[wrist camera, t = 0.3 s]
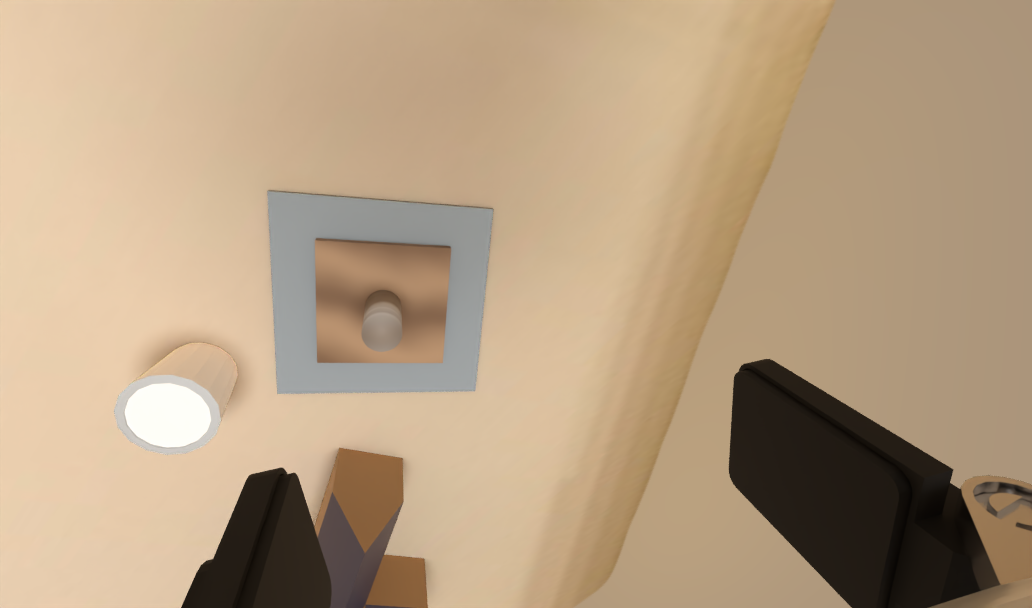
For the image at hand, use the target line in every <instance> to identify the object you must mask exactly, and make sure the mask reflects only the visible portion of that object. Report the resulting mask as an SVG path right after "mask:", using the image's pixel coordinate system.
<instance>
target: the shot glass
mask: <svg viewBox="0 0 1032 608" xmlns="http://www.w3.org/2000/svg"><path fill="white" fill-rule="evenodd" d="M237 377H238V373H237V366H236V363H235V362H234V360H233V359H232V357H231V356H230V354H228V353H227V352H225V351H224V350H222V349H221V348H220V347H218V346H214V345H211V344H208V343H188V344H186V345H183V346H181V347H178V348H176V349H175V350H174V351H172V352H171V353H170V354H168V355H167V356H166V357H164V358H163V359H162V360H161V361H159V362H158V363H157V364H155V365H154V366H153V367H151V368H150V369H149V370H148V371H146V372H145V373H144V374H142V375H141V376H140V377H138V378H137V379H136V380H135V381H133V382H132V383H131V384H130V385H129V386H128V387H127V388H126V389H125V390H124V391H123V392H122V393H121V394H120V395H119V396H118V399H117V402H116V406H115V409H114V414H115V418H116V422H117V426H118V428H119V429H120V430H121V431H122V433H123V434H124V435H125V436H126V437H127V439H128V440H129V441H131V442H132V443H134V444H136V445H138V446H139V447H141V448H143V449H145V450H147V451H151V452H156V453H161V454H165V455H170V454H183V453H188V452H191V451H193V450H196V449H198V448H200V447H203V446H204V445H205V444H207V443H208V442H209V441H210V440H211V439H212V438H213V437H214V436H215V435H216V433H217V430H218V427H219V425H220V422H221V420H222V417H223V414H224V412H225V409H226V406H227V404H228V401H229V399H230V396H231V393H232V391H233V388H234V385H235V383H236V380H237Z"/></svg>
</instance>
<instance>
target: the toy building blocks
mask: <svg viewBox="0 0 1032 608" xmlns="http://www.w3.org/2000/svg"><path fill="white" fill-rule="evenodd" d="M402 504H403V463H402V458H397V457H391V456H385V455H379V454H373V453H367V452H361V451H355V450H349V449H343V448H339V451H338V454H337V457H336V460H335V464H334V467H333V470H332V473H331V476H330V479H329V483H328V486H327V489H326V492H325V495H324V498H323V501H322V505H321V508H320V511H319V514H318V517H317V520H316V523H315V527H314V528H315V531H316V534H317V538H318V541H319V544H320V547H321V550H322V553H323V556H324V559H325V562H326V565H327V569H328V572H329V575H330V579H331V587H332V596H331V605H330V608H428V605H427V591H426V576H425V562H424V559H422V558H412V557H402V556H392V555H384V553H385V550H386V547H387V545H388V542H389V539H390V536H391V534H392V531H393V528H394V526H395V523H396V520H397V517H398V515H399V512H400V509H401V507H402Z"/></svg>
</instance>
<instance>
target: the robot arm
mask: <svg viewBox="0 0 1032 608" xmlns="http://www.w3.org/2000/svg"><path fill="white" fill-rule="evenodd" d="M952 472H953V469H951V468H950V467H948V466H947V465H945V464H943V463H942V462H940V461H938V460H936V459H935V458H933V457H932V456H930V455H928V454H927V453H925V452H923V451H922V450H920V449H918V448H917V447H915V446H913V445H912V444H910V443H908V442H907V441H905V440H903V439H902V438H900V437H899V436H897V435H895V434H893V433H892V432H890V431H889V430H887V429H885V428H884V427H882V426H880V425H879V424H877V423H875V422H874V421H872V420H870V419H869V418H867V417H865V416H864V415H862V414H860V413H859V412H857V411H856V410H854V409H852V408H851V407H849V406H847V405H846V404H844V403H842V402H841V401H839V400H837V399H836V398H834V397H832V396H831V395H829V394H827V393H826V392H824V391H822V390H821V389H819V388H817V387H816V386H814V385H813V384H811V383H809V382H808V381H806V380H804V379H802V378H801V377H799V376H797V375H796V374H794V373H793V372H791V371H789V370H788V369H786V368H784V367H783V366H781V365H779V364H778V363H776V362H774V361H773V360H770V359H764V360H760V361H755V362H751V363H747V364H743V365H742V366H741V367H740V369H739V372H738V373H736V375H735V377H734V388H733V405H732V422H731V440H730V457H729V474H730V478H731V480H732V482H733V484H734V485H735V486H736V488H737V489H738V490H739V491H740V492H741V493H742V494H743V495H744V496H745V497H746V498H747V499H748V500H749V501H750V502H751V503H752V504H753V505H754V507H755V508H756V509H757V510H758V511H759V512H760V513H761V514H762V515H763V516H764V517H765V518H766V519H767V520H768V521H769V522H770V523H771V524H772V525H773V526H774V527H775V528H776V529H777V530H778V531H779V533H780V534H781V535H783V536H784V538H785V539H786V540H787V541H788V542H789V543H790V544H791V545H792V546H793V547H794V548H795V549H796V550H797V551H798V552H799V553H800V554H801V555H802V556H803V557H804V558H805V560H806V561H807V562H809V564H810V565H811V566H812V567H813V568H814V569H815V570H816V571H817V572H818V573H819V574H820V575H821V576H822V577H823V578H824V579H825V580H826V581H827V582H828V583H829V584H830V586H831V587H832V588H833V589H834V590H835V591H836V592H837V593H838V594H839V595H840V596H841V597H842V598H843V599H844V600H845V601H846V602H847V603H848V604H849V605H850V606H851V607H852V608H1032V485H1031V484H1029V483H1026V482H1023V481H1019V480H1015V479H1011V478H1006V477H999V476H990V475H986V476H975V477H972V478H970V479H967V480H965V482H964V483H963V485H962V486H961V489H959V488H957V487H956V486H954V485H953V484H951V483H950V480H951V476H952ZM331 596H332V587H331V579H330V575H329V572H328V569H327V565H326V562H325V559H324V556H323V553H322V550H321V547H320V544H319V541H318V538H317V534H316V531H315V528H314V525H313V522H312V519H311V516H310V513H309V510H308V506H307V503H306V500H305V497H304V494H303V491H302V488H301V485H300V482H299V479H298V476H297V475H296V473H291V474H287V472H286V471H285V469H284V468H278V469H273V470H269V471H264V472H260V473H255V474H251V475H249V476H248V478H247V480H246V482H245V485H244V487H243V489H242V492H241V494H240V496H239V499H238V501H237V504H236V506H235V508H234V511H233V513H232V515H231V518H230V520H229V523H228V525H227V527H226V530H225V532H224V535H223V537H222V539H221V542H220V544H219V546H218V549H217V551H216V554H215V556H214V558H213V559H212V560H208V561H206V562H205V563H203V564H202V565H201V566H200V568H199V570H198V572H197V573H196V575H195V578H194V580H193V582H192V584H191V587H190V589H189V591H188V593H187V596H186V598H185V600H184V602H183V605H182V607H181V608H330V605H331Z"/></svg>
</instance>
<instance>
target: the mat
mask: <svg viewBox="0 0 1032 608" xmlns="http://www.w3.org/2000/svg"><path fill="white" fill-rule="evenodd" d="M267 192H268V212H269V232H270V253H271V273H272V294H273V314H274V334H275V355H276V375H277V394H303V393H378V392H454V391H475V388H476V378H477V368H478V358H479V348H480V338H481V328H482V318H483V308H484V298H485V288H486V278H487V268H488V258H489V248H490V238H491V228H492V218H493V209H490V208H478V207H466V206H453V205H441V204H429V203H416V202H404V201H392V200H380V199H367V198H355V197H343V196H330V195H318V194H306V193H293V192H281V191H267ZM316 238H322V239H339V240H355V241H372V242H388V243H405V244H422V245H438V246H450V247H451V259H450V273H449V286H448V300H447V313H446V327H445V340H444V354H443V363H317V332H316V278H315V239H316Z"/></svg>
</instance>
